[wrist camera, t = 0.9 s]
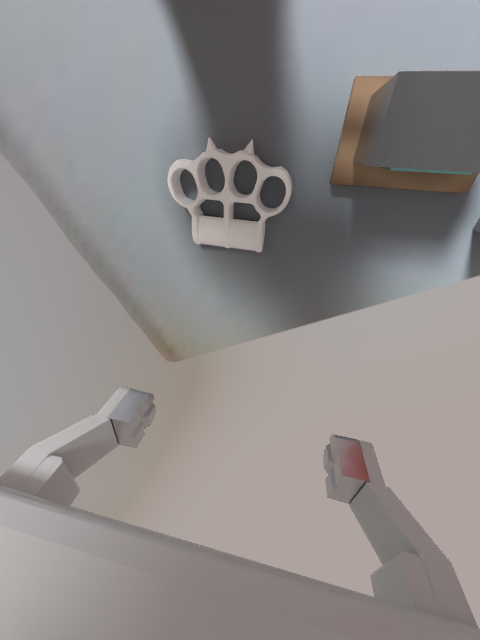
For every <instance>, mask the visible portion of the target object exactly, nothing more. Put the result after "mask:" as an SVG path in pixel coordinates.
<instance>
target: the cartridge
mask: <svg viewBox="0 0 480 640" xmlns="http://www.w3.org/2000/svg"><path fill="white" fill-rule="evenodd" d="M473 230H475V231H477V232H479V233H480V219H479V220H478V222H477V223H476V225H475V227H474V228H473Z"/></svg>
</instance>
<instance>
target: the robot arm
mask: <svg viewBox="0 0 480 640" xmlns="http://www.w3.org/2000/svg"><path fill="white" fill-rule="evenodd" d="M153 400H154V395H153V394H151V393H147V392H143V391H139V390H135V389H131V388H127V387H121V388H119V389H118V390H117V391H116V392H115V393H114V395H113V396H112V397H111V398H110V399H109V400H108V402H107V403H106V404H105V405H104V406H103V407H102V409H101V410H100V411H99V412H98V414H96V415H92V416H89V417H88V418H85V419H84V420H82V421H80V422H78V423H76V424H74V425H72V426H70V427H68V428H66V429H65V430H62V431H61V432H59V433H57V434H55V435H53V436H51V437H49V438H47V439H45V440H43V441H41V442H40V443H38V444H36V445H34V446H32V447H30V448H29V449H28V450H27V451H26V452H25V453H24V454H23V455H22V456H21V457H20V458H19V459H18V460H17V461H16V462H15V463H14V464H13V465H12V466H11V467H10V468H9V469H8V470H7V471H6V472H5V473H4V474H3V475H2V476H1V477H0V640H480V629H479V628H478V626H477V624H476V621H475V619H474V617H473V614H472V612H471V609H470V607H469V604H468V602H467V600H466V597H465V595H464V592H463V590H462V588H461V585H460V583H459V580H458V578H457V576H456V573H455V571H454V568H453V566H452V564H451V562H450V561H449V560H448V559H447V558H446V556H445V555H444V554H443V553H442V551H441V550H440V549H439V548H438V547H437V545H436V544H435V543H434V542H433V540H432V539H431V538H430V537H429V535H428V534H427V533H426V532H425V530H424V529H423V528H422V527H421V526H420V524H419V523H418V522H417V521H416V520H415V518H414V517H413V516H412V515H411V513H410V512H409V511H408V510H407V508H406V507H405V506H404V505H403V504H402V502H401V501H400V500H399V499H398V497H397V496H396V495H395V494H394V493H393V491H392V490H391V489H390V488H388V487H386V486H385V483H384V480H383V477H382V474H381V470H380V467H379V464H378V461H377V457H376V454H375V451H374V448H373V446H372V444H371V443H369V442H364V441H359V440H356V439H352V438H347V437H343V436H338V435H332V436H331V438H330V444H328V445H326V448H325V450H324V469H325V470H326V472H327V473H328V476H327V478H326V488H327V497H328V498H331V499H334V500H337V501H341V502H344V503H348V504H349V506H350V508H351V509H352V511H353V513H354V515H355V517H356V518H357V520H358V522H359V524H360V525H361V527H362V529H363V531H364V532H365V534H366V536H367V538H368V540H369V541H370V543H371V545H372V547H373V548H374V550H375V552H376V554H377V555H378V557H379V559H380V561H381V563H382V564H383V566H381V567H380V568H379V569H377V570H376V571H374V572H373V573H372V575H371V581H372V586H373V592H374V597H372V596H369V595H366V594H362V593H359V592H356V591H352V590H349V589H346V588H342V587H339V586H335V585H332V584H329V583H325V582H322V581H319V580H315V579H312V578H309V577H305V576H302V575H299V574H295V573H292V572H288V571H285V570H282V569H279V568H275V567H272V566H268V565H265V564H262V563H259V562H255V561H252V560H249V559H245V558H242V557H239V556H235V555H232V554H229V553H225V552H222V551H219V550H215V549H212V548H209V547H205V546H202V545H199V544H195V543H192V542H189V541H185V540H182V539H179V538H175V537H172V536H168V535H165V534H162V533H158V532H155V531H152V530H149V529H145V528H142V527H139V526H135V525H132V524H128V523H125V522H122V521H118V520H115V519H112V518H108V517H105V516H102V515H98V514H95V513H91V512H88V511H85V510H82V509H78V508H75V507H72V506H70V505H71V504H72V502H73V500H74V499H75V498H76V496H77V495H78V493H79V486H78V485H77V483H76V481H75V478H76V477H77V476H79V475H80V474H81V473H82V472H84V471H85V470H86V469H88V468H89V467H90V466H92V465H93V464H94V463H96V462H97V461H98V460H100V459H101V458H102V457H104V456H105V455H106V454H108V453H109V452H110V451H111V450H113V449H114V448H115V447H117V446H118V444H120V445H124V446H129V447H133V448H137V446H138V445H139V443H140V441H141V439H142V438H143V436H144V429H145V428H147V427H148V426H150V424H151V422H152V420H153V418H154V415H155V411H156V407H155V404H154V403H153Z"/></svg>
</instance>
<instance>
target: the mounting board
mask: <svg viewBox="0 0 480 640" xmlns="http://www.w3.org/2000/svg"><path fill="white" fill-rule="evenodd" d="M392 77H393V76H356V77H355V79H354V82H353V86H352V91H351V95H350V99H349V103H348V108H347V112H346V116H345V120H344V125H343V129H342V133H341V137H340V142H339V146H338V150H337V155H336V159H335V163H334V167H333V172H332V176H331V180H330V183H331V184H341V185H354V186H368V187H382V188H396V189H410V190H424V191H438V192H452V193H466V194H467V193H468V191H469V189H470V187H471V186H472V184H473V182H474V180H475V178H476V176H477V175H478V173H475V172H472V173H471V175H462V174H446V173H429V172H413V171H396V170H388V169H383V168H379V167H373V166H367V165H363V164H359V163H355V162H353V160H354V156H355V152H356V149H357V145H358V141H359V138H360V134H361V130H362V127H363V123H364V119H365V116H366V112H367V108H368V105H369V101H370V97H371V95H372V94H374V93H375V92H376V91H377V90H378V89H379V88H381V87H382V86H383V85H384V84H385V83H386V82H388V81H389V80H390V79H391V78H392Z"/></svg>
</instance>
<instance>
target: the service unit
mask: <svg viewBox="0 0 480 640" xmlns="http://www.w3.org/2000/svg"><path fill="white" fill-rule="evenodd" d="M353 162H355V163H359V164H363V165H367V166H373V167H379V168H383V169H388V170H396V171H413V172H429V173H446V174H462V175H471V173H472V172H475V173H480V71H405V72H398V73H397V74H396V75H395V76H393V77H392V78H391V79H390V80H389V81H388V82H386V83H385V84H384V85H383V86H382V87H381V88H379V89H378V90H377V91H376V92H375V93H374V94H372V95H371V97H370V101H369V105H368V108H367V112H366V116H365V119H364V123H363V127H362V130H361V134H360V138H359V141H358V145H357V149H356V152H355V156H354V160H353Z"/></svg>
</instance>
